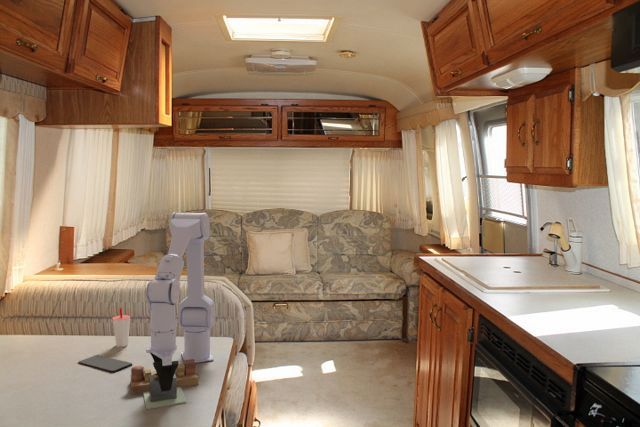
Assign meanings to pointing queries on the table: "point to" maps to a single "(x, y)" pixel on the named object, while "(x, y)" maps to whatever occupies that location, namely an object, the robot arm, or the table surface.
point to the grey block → (156, 391)
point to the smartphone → (105, 363)
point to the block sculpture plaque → (141, 375)
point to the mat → (178, 400)
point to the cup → (121, 329)
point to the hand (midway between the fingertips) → (164, 384)
